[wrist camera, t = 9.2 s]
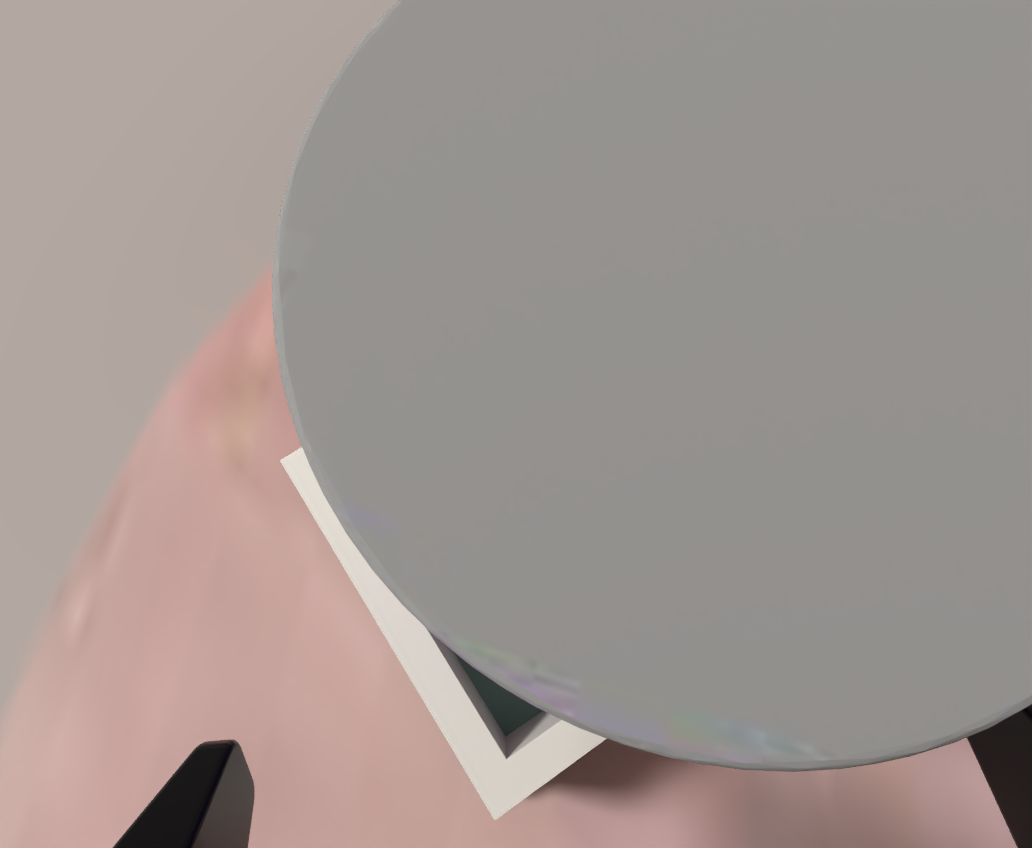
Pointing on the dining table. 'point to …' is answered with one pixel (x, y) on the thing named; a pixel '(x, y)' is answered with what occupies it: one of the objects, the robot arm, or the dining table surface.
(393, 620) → the board
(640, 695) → the container
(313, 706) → the dining table surface
